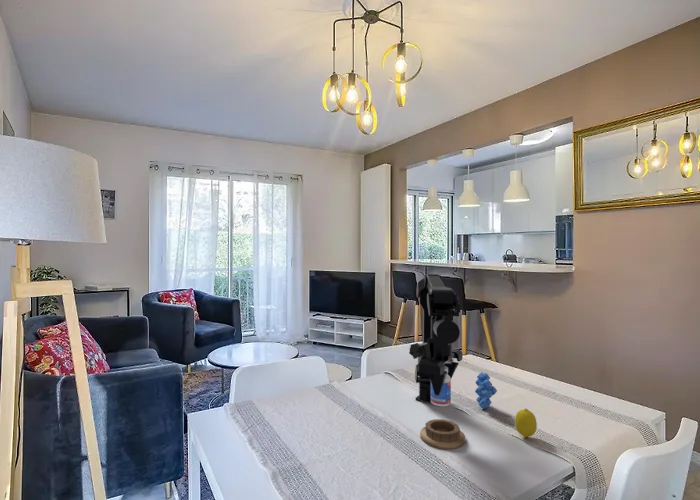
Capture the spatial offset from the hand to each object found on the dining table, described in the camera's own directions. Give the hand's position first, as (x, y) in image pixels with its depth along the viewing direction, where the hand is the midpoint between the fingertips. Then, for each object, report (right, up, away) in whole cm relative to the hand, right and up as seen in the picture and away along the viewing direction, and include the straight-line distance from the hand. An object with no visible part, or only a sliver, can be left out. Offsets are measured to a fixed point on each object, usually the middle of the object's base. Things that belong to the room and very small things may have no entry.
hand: (440, 391), depth 110 cm
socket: (0, -13, 0) cm, 13 cm away
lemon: (+23, -13, 0) cm, 27 cm away
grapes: (+19, -13, +20) cm, 30 cm away
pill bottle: (0, -3, 0) cm, 3 cm away
